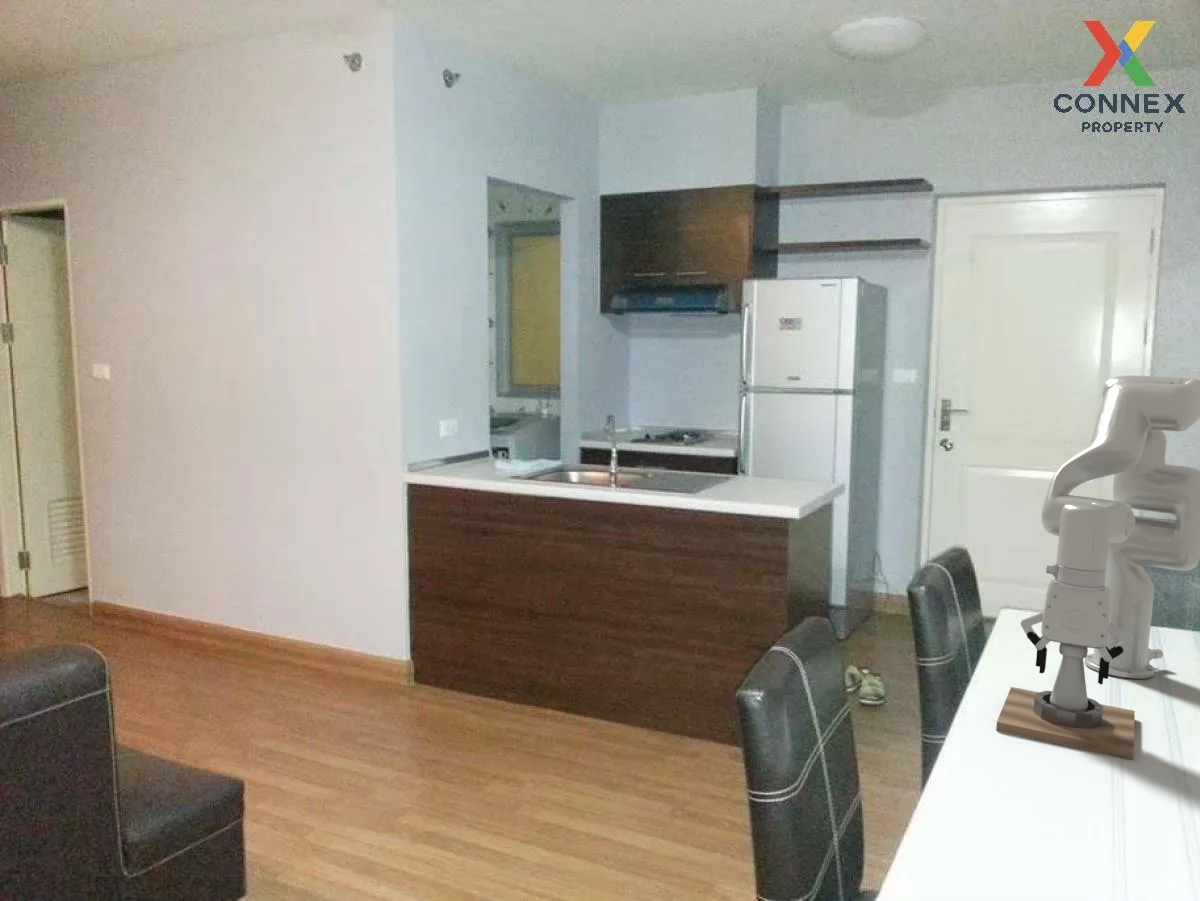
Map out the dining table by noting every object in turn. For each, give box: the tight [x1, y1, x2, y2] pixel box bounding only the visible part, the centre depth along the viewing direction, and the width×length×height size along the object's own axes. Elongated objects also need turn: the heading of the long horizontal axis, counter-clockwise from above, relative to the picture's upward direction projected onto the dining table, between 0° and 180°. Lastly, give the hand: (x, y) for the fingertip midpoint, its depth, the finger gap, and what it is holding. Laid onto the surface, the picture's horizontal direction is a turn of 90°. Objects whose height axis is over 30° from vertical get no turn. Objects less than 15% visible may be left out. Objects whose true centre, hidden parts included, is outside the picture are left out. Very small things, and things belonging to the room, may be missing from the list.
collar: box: [1033, 690, 1103, 729], centre depth 160 cm, size 10×10×2 cm
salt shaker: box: [1050, 643, 1089, 711], centre depth 159 cm, size 6×6×13 cm
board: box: [995, 686, 1136, 761], centre depth 160 cm, size 20×20×2 cm
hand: (1071, 676), depth 159 cm, fingers open, 8 cm apart
